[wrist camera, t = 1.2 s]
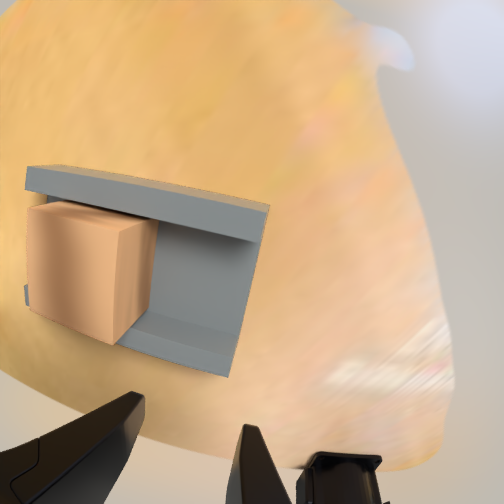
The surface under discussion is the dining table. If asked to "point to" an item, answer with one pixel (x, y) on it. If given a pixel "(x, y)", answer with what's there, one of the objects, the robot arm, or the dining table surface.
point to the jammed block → (89, 266)
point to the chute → (177, 260)
